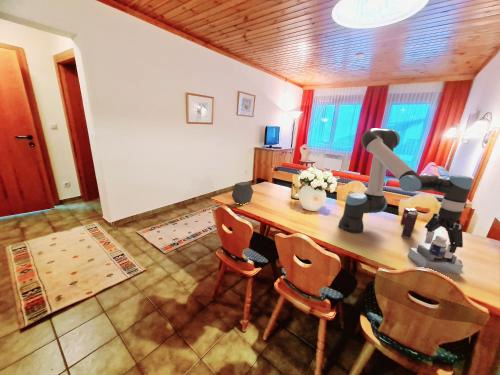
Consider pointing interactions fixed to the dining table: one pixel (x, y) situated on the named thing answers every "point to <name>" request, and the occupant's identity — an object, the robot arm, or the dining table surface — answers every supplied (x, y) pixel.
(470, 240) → the dining table surface
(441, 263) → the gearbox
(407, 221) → the supplement box
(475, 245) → the dining table surface
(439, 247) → the pill bottle
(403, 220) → the soda can
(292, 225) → the dining table surface
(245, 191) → the planter
